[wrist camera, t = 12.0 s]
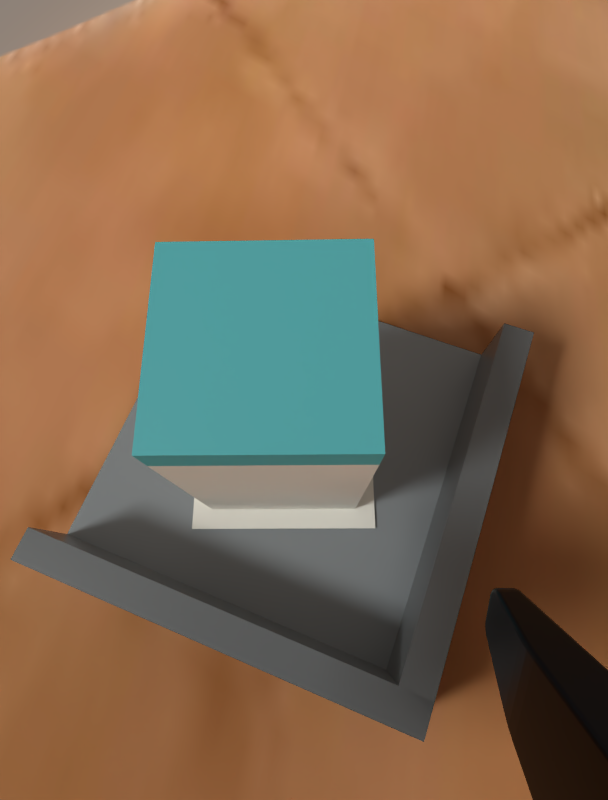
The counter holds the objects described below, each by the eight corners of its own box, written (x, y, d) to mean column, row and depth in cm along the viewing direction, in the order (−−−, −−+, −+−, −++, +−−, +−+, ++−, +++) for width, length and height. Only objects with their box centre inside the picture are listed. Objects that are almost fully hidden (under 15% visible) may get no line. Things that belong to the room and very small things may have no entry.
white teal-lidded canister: (355, 508, 22) (385, 454, 12) (212, 509, 22) (131, 455, 12) (350, 372, 24) (373, 234, 14) (219, 373, 24) (155, 238, 14)
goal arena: (405, 714, 19) (423, 741, 16) (57, 562, 22) (10, 559, 18) (503, 366, 24) (533, 332, 21) (208, 269, 26) (192, 224, 23)
